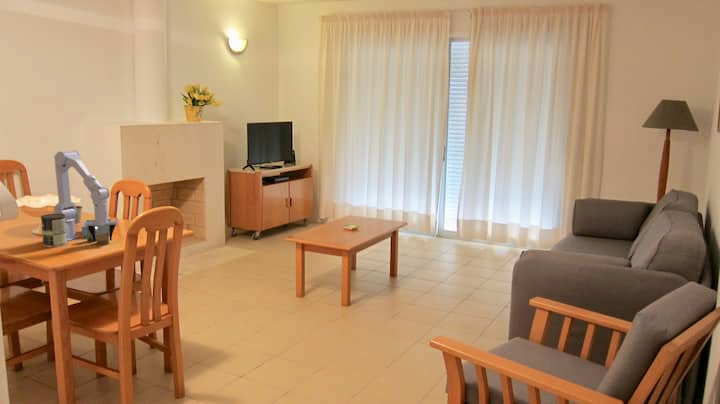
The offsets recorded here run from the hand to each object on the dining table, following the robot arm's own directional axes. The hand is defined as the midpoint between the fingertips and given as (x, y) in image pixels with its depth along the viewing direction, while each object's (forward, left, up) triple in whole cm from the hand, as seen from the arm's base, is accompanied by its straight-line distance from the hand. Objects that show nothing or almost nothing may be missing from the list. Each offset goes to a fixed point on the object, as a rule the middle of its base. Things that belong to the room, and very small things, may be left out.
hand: (102, 240), depth 280 cm
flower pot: (+40, +42, -2) cm, 59 cm away
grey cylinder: (+4, +8, -1) cm, 9 cm away
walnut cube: (0, 0, -2) cm, 2 cm away
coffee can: (-7, +20, -2) cm, 22 cm away
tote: (+19, +15, -1) cm, 24 cm away
